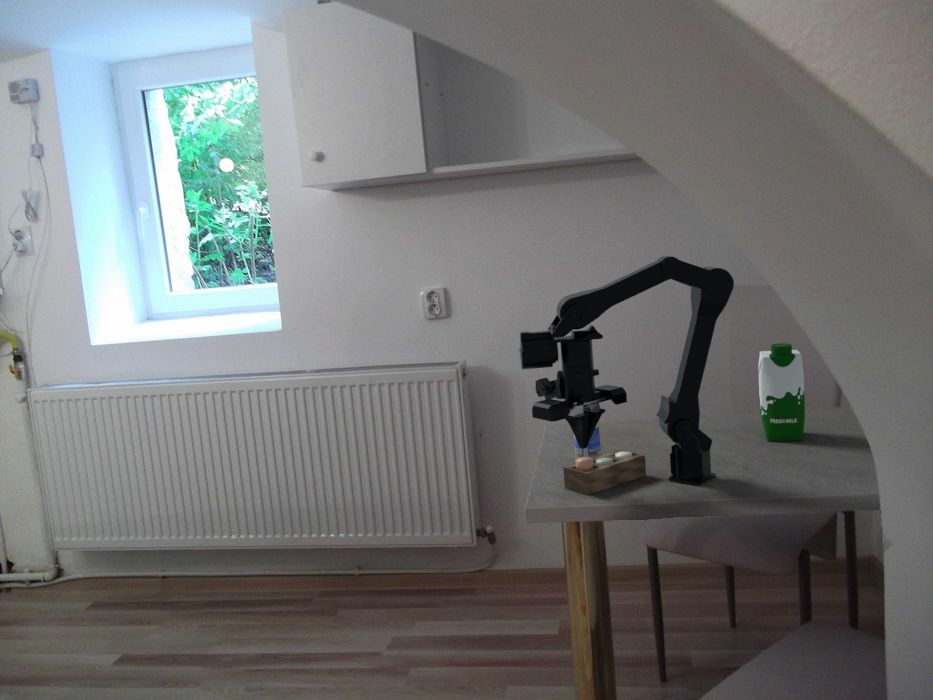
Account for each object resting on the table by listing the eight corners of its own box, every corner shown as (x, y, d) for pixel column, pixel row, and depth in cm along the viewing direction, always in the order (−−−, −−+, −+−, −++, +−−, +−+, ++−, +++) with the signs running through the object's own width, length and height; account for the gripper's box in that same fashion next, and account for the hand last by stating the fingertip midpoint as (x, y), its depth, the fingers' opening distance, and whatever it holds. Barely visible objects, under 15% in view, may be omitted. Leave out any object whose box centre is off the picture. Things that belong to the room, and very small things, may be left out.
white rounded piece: (624, 461, 163) (623, 450, 163) (636, 464, 161) (635, 453, 160) (612, 465, 162) (611, 454, 161) (624, 468, 159) (623, 457, 159)
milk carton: (763, 442, 175) (759, 347, 172) (759, 431, 183) (755, 341, 180) (808, 441, 172) (805, 345, 169) (802, 430, 181) (799, 338, 178)
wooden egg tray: (621, 469, 165) (620, 449, 165) (646, 475, 160) (644, 454, 160) (564, 487, 157) (563, 467, 156) (588, 495, 152) (587, 473, 151)
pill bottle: (602, 452, 178) (599, 407, 176) (599, 460, 173) (596, 414, 171) (577, 453, 179) (573, 408, 178) (573, 460, 174) (570, 414, 173)
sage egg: (605, 467, 160) (604, 456, 160) (617, 470, 158) (616, 459, 158) (593, 471, 159) (592, 460, 158) (605, 474, 156) (604, 463, 156)
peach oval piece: (585, 467, 157) (584, 456, 157) (597, 470, 155) (596, 459, 154) (572, 471, 156) (571, 460, 155) (584, 474, 153) (583, 463, 153)
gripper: (584, 353, 164) (590, 430, 166) (509, 369, 154) (516, 452, 156) (626, 357, 155) (631, 439, 157) (549, 375, 145) (556, 462, 147)
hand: (583, 448), depth 155 cm, fingers closed
